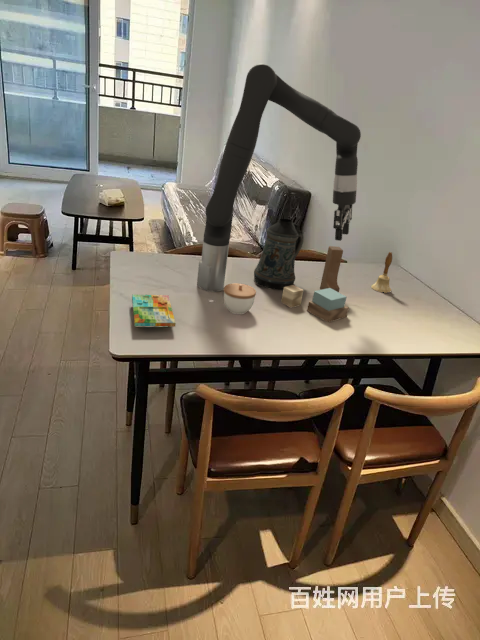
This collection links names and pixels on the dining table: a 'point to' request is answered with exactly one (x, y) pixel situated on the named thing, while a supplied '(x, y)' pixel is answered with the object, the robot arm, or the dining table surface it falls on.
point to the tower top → (329, 299)
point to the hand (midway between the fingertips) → (341, 237)
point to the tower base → (327, 312)
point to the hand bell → (384, 277)
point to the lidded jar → (239, 297)
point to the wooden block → (331, 268)
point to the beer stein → (279, 255)
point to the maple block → (292, 296)
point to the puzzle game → (152, 310)
